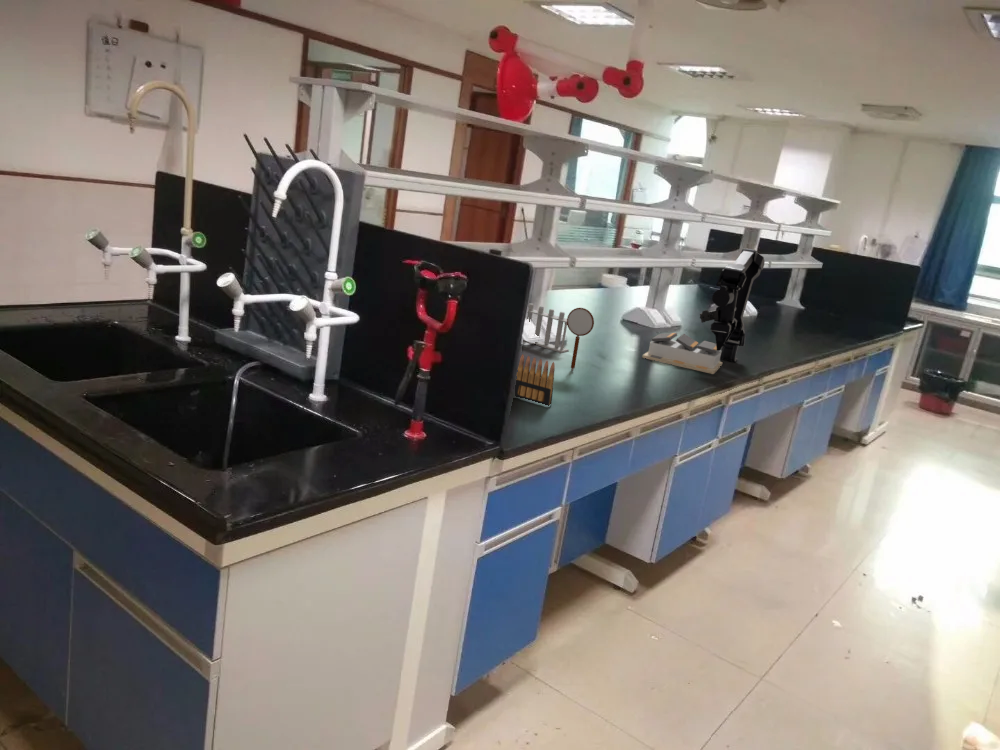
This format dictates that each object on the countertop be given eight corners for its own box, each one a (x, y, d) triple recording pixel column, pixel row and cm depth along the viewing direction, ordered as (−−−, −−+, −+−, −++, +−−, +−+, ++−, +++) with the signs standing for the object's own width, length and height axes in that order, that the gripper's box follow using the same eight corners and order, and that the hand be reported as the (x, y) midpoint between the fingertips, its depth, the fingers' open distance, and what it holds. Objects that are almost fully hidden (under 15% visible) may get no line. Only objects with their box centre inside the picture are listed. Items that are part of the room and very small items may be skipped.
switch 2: (703, 343, 268) (704, 339, 268) (721, 348, 266) (722, 344, 265) (697, 348, 257) (698, 345, 257) (715, 353, 255) (716, 350, 255)
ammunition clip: (511, 397, 196) (518, 353, 193) (514, 396, 198) (521, 352, 194) (548, 408, 192) (555, 363, 188) (551, 406, 193) (558, 362, 190)
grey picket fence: (504, 335, 267) (509, 299, 264) (512, 334, 271) (517, 298, 267) (561, 353, 253) (567, 315, 249) (568, 351, 256) (574, 314, 253)
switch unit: (654, 349, 278) (657, 334, 276) (722, 364, 269) (725, 348, 267) (642, 357, 262) (645, 341, 260) (713, 374, 253) (717, 357, 251)
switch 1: (659, 336, 274) (659, 333, 274) (677, 335, 271) (677, 332, 271) (651, 341, 264) (651, 337, 263) (670, 340, 261) (669, 337, 261)
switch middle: (682, 335, 271) (684, 333, 270) (697, 345, 269) (699, 342, 269) (675, 340, 260) (677, 338, 260) (691, 350, 258) (693, 348, 258)
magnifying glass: (586, 373, 230) (596, 310, 225) (584, 374, 229) (595, 311, 223) (560, 367, 234) (570, 304, 228) (558, 368, 232) (568, 305, 227)
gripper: (708, 298, 268) (702, 341, 271) (698, 303, 251) (692, 348, 255) (740, 302, 263) (733, 345, 267) (732, 308, 247) (725, 354, 250)
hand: (720, 348), depth 260 cm, fingers open, 9 cm apart
